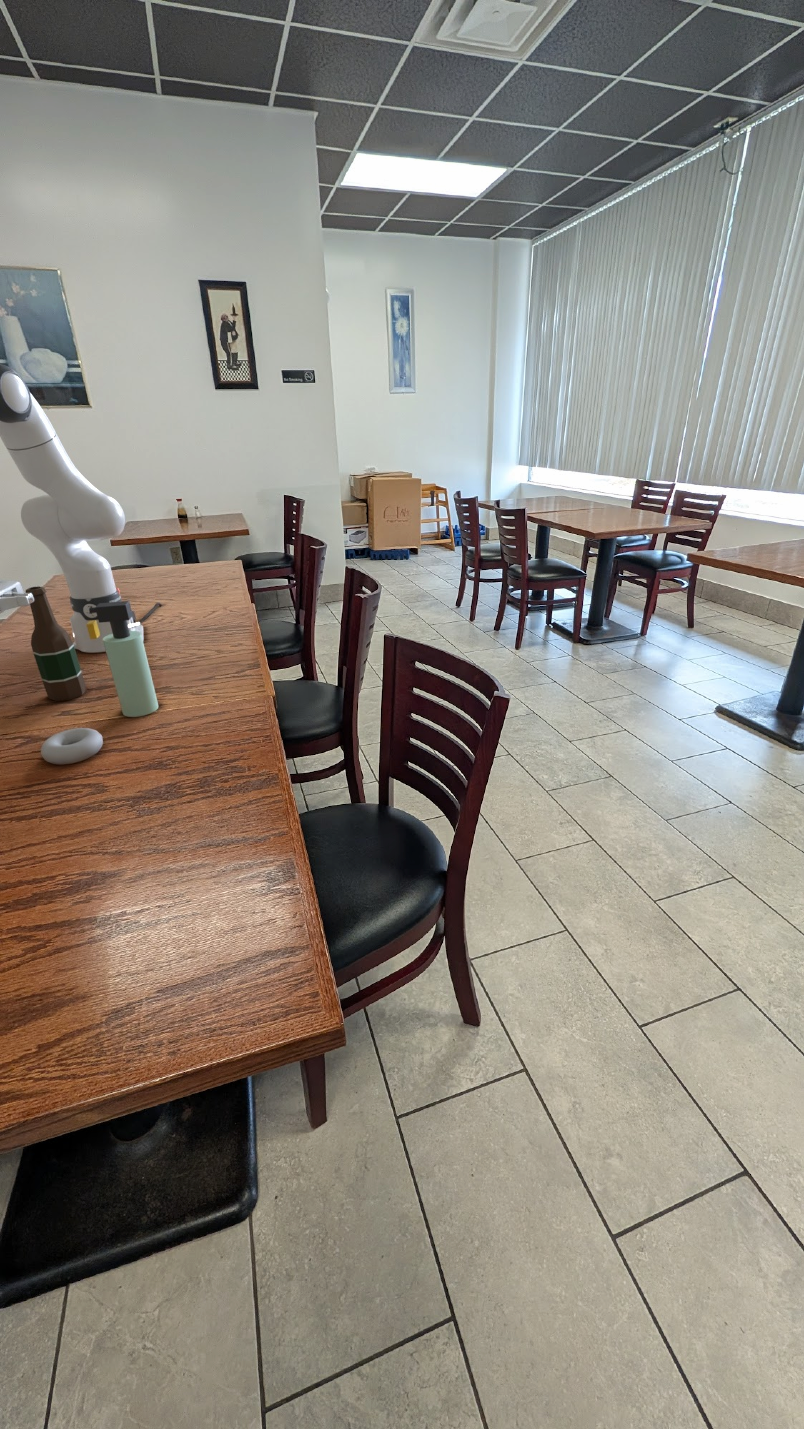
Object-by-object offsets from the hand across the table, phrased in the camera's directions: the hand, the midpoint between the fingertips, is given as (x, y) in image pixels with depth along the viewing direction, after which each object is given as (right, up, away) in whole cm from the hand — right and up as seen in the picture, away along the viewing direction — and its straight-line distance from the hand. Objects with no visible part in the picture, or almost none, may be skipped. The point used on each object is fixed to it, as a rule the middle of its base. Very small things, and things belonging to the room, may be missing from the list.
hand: (30, 599), depth 109 cm
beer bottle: (-5, -17, +22) cm, 28 cm away
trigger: (+9, -6, +5) cm, 12 cm away
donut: (+10, -29, -3) cm, 31 cm away
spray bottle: (+15, -21, +13) cm, 28 cm away
